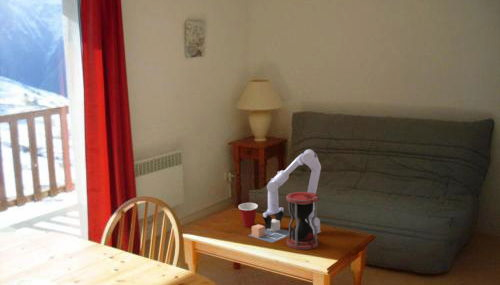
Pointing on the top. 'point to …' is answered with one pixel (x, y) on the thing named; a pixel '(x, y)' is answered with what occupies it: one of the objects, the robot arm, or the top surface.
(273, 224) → the offwhite block
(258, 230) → the terracotta block
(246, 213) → the plastic cup
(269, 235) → the mat
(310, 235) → the hourglass
